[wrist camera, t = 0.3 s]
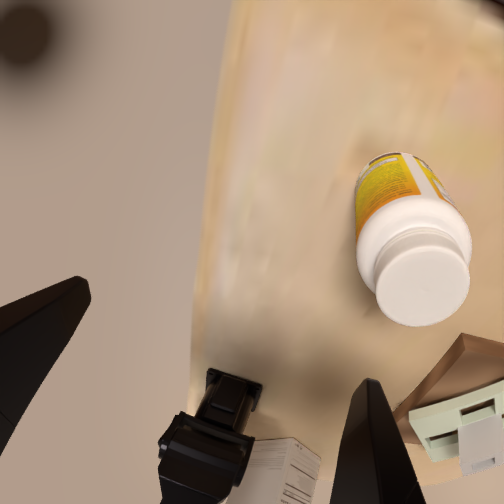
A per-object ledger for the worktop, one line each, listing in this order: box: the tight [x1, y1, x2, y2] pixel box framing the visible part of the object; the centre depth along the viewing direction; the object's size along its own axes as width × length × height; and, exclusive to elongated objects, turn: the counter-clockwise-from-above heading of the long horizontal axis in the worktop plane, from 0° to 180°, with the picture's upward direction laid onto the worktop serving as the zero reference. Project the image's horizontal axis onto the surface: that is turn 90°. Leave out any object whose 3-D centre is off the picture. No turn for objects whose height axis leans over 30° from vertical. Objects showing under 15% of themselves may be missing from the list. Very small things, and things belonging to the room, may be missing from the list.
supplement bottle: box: [355, 152, 472, 327], centre depth 15 cm, size 6×6×10 cm
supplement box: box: [226, 438, 321, 504], centre depth 38 cm, size 9×9×15 cm
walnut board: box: [393, 333, 504, 445], centre depth 24 cm, size 18×18×7 cm
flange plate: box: [409, 380, 504, 476], centre depth 23 cm, size 14×14×6 cm
